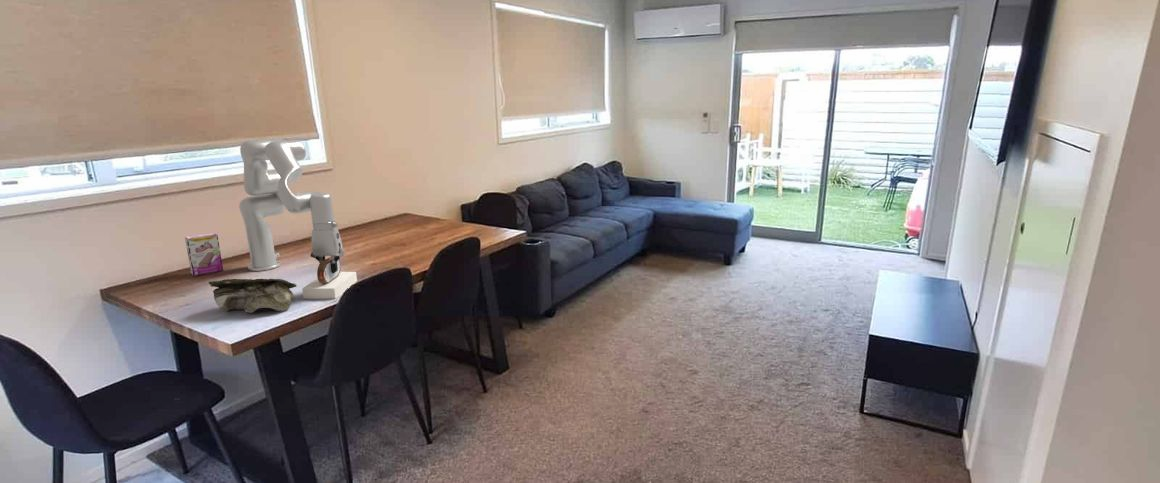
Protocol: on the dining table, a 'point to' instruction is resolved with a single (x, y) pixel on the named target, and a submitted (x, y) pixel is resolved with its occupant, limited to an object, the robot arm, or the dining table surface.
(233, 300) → the hollow geode rock
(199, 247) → the candy bar box
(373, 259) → the dining table surface
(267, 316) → the dining table surface
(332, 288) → the plinth
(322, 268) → the tin
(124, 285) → the dining table surface
